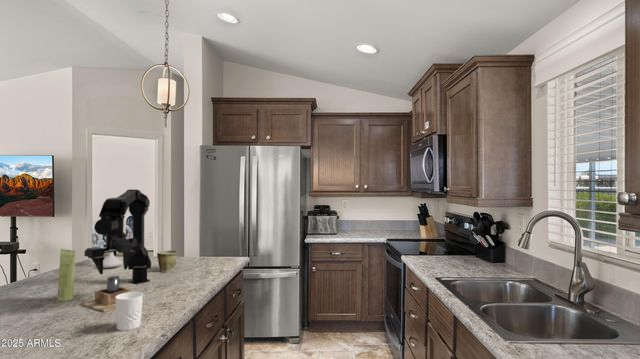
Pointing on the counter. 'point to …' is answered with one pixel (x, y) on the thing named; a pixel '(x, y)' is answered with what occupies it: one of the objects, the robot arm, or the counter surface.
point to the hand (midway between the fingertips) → (113, 271)
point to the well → (105, 300)
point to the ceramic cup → (167, 260)
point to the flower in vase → (112, 259)
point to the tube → (66, 275)
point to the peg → (112, 284)
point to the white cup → (128, 310)
